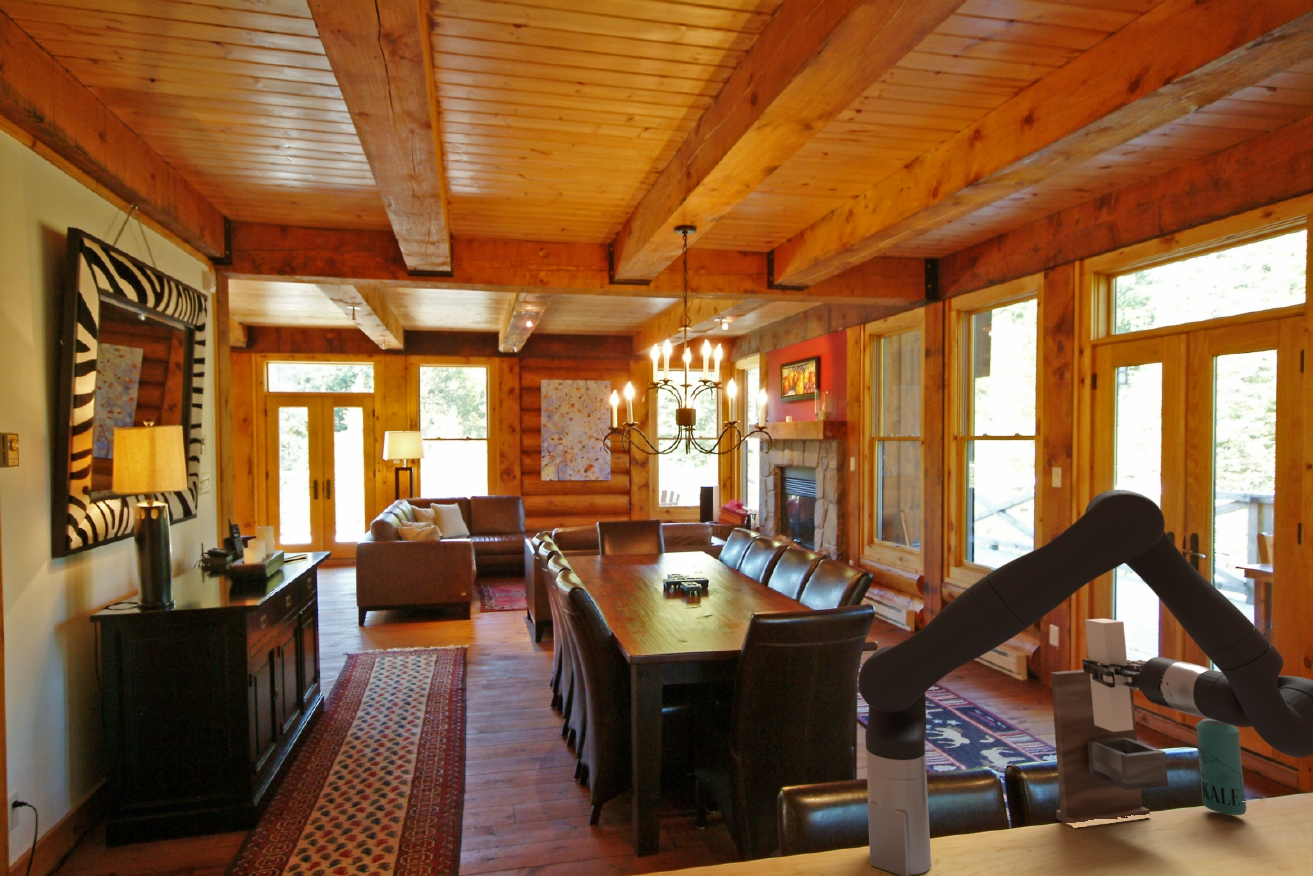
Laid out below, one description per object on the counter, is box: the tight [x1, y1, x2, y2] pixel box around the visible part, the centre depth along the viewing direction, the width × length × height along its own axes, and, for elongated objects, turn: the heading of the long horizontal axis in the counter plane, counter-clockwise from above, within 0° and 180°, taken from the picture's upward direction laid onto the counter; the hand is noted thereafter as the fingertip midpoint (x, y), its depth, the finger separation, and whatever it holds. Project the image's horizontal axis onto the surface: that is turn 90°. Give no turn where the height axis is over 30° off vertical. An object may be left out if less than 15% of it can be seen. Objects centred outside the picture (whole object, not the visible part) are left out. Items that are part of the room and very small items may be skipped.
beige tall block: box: [1084, 617, 1133, 732], centre depth 123 cm, size 4×4×18 cm
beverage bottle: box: [1195, 718, 1247, 816], centre depth 128 cm, size 6×7×20 cm
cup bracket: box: [1050, 669, 1169, 824], centre depth 125 cm, size 12×16×26 cm
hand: (1095, 664), depth 126 cm, fingers closed on beige tall block, 4 cm apart
